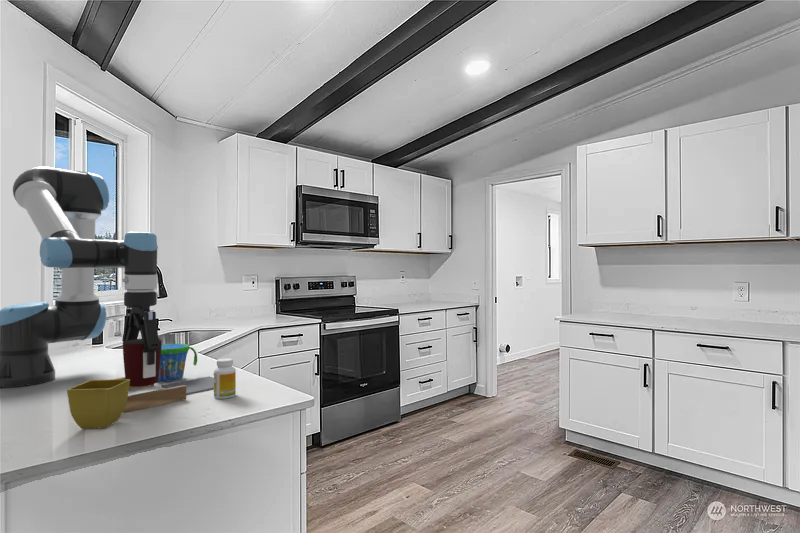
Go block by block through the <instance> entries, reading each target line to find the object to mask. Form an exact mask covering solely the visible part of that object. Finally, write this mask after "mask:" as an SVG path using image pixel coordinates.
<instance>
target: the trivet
mask: <svg viewBox="0 0 800 533" xmlns="http://www.w3.org/2000/svg"><path fill="white" fill-rule="evenodd" d="M182 385H186V396H187V395H192V394H197V393H202V392H206V391H207V392H208V391H211V390H214V376H210V375H209V376H205V377H198V378H194V379H188V380H182V381H177V382H171V383H166V384H161V387H162V388H163V389H166V388H171V387H177V386H182Z"/></svg>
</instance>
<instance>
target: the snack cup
mask: <svg viewBox="0 0 800 533" xmlns="http://www.w3.org/2000/svg"><path fill="white" fill-rule="evenodd" d="M189 350H192V351H193V353H194V356H193V366H197V363H198V353H197V351H196V349H195V348H193V347H192V346H190V345H189V344H186V343H166V344H165V343H164V344H163V343H162V345H161V358H160V369H159V378H158V382H166V383H167V382H174V381H179V380H181V379H182V378H183V377H184V374H185V367H186V361H187V355H188V353H189Z"/></svg>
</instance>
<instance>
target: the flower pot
mask: <svg viewBox="0 0 800 533" xmlns="http://www.w3.org/2000/svg"><path fill="white" fill-rule="evenodd" d="M129 385H130V379H117V380H110V379H91V380H87V381H85V382H83V383H80V384H77V385H75V386H72V387H70V388H68V389H66V392H67V400H68V407H69V411H70V414H71V417H72V419H73V420H74V422H75V423H76V425H77V426H78V427H79V428H81V429H83V430H86V429H87V430H88V429H106V428H108V427H110V426H112V425H113V424H114V423H117V422H118V421H119V419H120V418H121V416H122V415H123V411H124V409H125V406H126V403H127V399H128V396H129V391H130V390H129Z"/></svg>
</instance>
